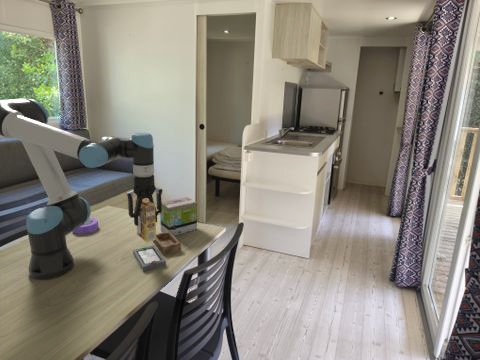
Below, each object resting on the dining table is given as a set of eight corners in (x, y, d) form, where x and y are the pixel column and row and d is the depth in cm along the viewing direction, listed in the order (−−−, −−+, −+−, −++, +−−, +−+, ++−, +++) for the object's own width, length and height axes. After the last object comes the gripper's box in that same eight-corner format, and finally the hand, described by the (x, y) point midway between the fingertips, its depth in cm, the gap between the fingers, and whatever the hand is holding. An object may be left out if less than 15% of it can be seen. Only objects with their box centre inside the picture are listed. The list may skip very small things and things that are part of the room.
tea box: (170, 238, 155) (169, 208, 151) (160, 230, 162) (159, 202, 158) (197, 229, 164) (197, 201, 160) (187, 223, 171) (186, 195, 167)
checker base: (143, 271, 127) (142, 265, 126) (133, 254, 139) (132, 248, 138) (166, 265, 131) (165, 259, 131) (154, 249, 144) (154, 243, 143)
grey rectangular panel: (145, 266, 129) (145, 264, 129) (138, 254, 138) (137, 251, 138) (160, 262, 132) (160, 260, 132) (152, 251, 141) (152, 248, 141)
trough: (162, 254, 139) (162, 247, 138) (152, 241, 150) (152, 234, 149) (180, 250, 143) (180, 243, 142) (169, 238, 154) (169, 231, 153)
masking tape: (74, 225, 166) (73, 218, 165) (99, 223, 169) (98, 216, 168) (70, 235, 155) (69, 228, 154) (97, 233, 158) (96, 225, 157)
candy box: (156, 240, 131) (156, 203, 127) (146, 243, 128) (145, 205, 124) (145, 232, 137) (144, 197, 133) (136, 235, 134) (134, 199, 130)
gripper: (121, 179, 118) (125, 239, 124) (170, 174, 127) (171, 230, 133) (117, 174, 124) (120, 231, 130) (163, 169, 133) (165, 223, 139)
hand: (146, 231), depth 132 cm, fingers closed on candy box, 5 cm apart
